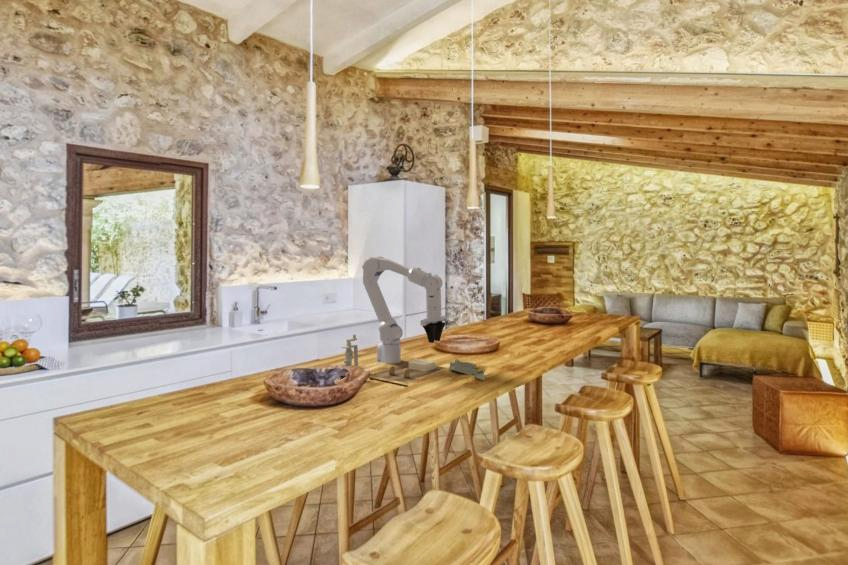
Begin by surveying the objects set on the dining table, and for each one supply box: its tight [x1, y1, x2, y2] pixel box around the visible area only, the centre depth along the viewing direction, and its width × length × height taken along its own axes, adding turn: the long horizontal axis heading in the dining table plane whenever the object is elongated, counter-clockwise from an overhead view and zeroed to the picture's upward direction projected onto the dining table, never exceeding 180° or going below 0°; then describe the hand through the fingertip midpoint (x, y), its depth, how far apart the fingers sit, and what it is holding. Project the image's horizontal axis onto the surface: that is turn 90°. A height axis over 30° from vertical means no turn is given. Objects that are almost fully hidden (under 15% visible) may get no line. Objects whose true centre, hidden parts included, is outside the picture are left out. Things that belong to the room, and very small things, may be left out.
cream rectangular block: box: [408, 358, 436, 372], centre depth 184 cm, size 8×6×2 cm
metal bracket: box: [448, 358, 486, 381], centre depth 180 cm, size 14×6×15 cm
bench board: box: [368, 362, 446, 388], centre depth 180 cm, size 17×24×4 cm
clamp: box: [341, 334, 359, 367], centre depth 179 cm, size 4×10×15 cm, turn 160°
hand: (434, 341), depth 189 cm, fingers open, 3 cm apart
